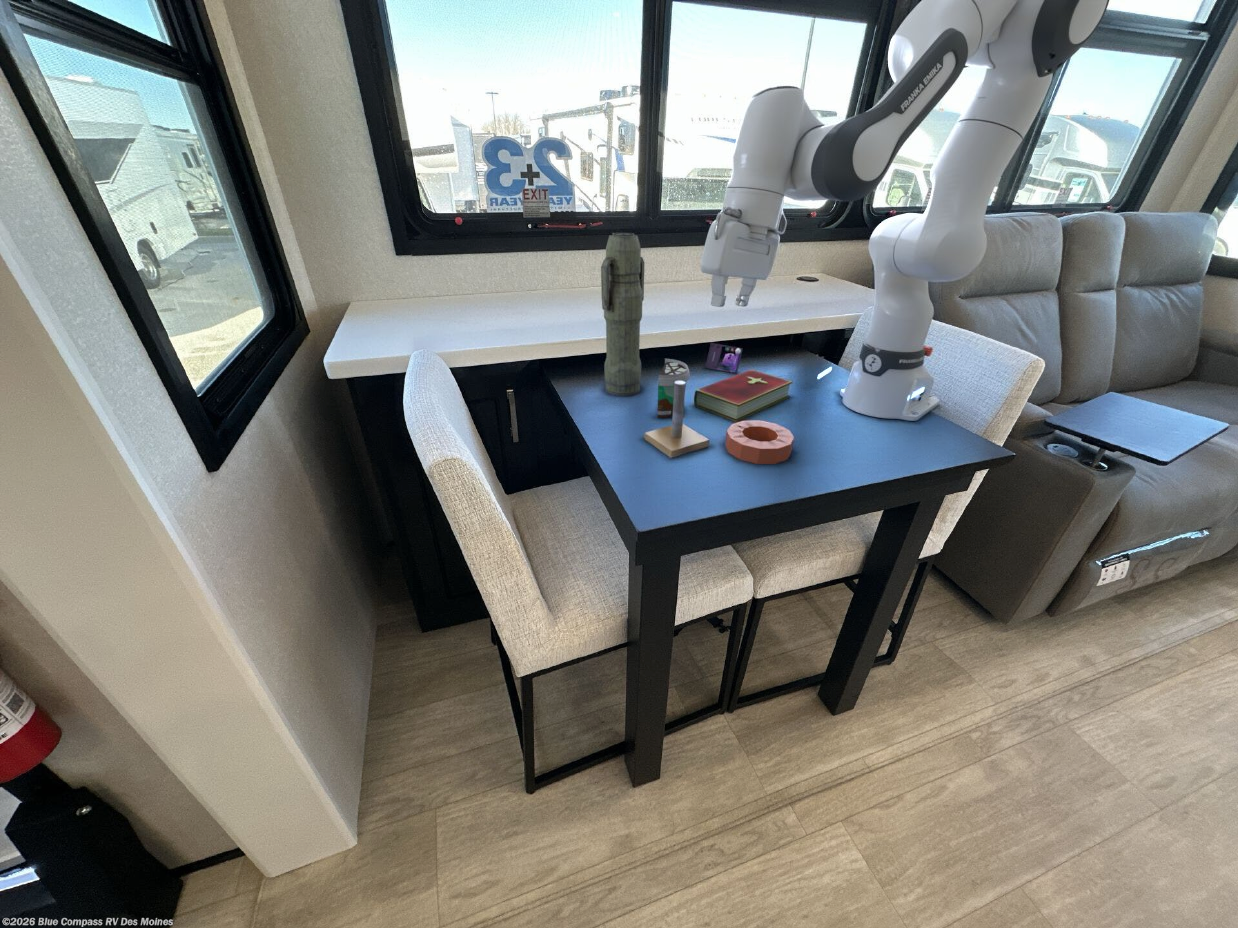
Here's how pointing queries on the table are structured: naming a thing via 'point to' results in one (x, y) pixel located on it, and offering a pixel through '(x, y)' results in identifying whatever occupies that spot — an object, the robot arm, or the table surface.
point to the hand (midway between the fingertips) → (729, 306)
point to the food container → (670, 385)
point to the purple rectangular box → (728, 359)
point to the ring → (748, 448)
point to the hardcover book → (742, 394)
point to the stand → (677, 430)
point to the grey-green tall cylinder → (622, 312)
